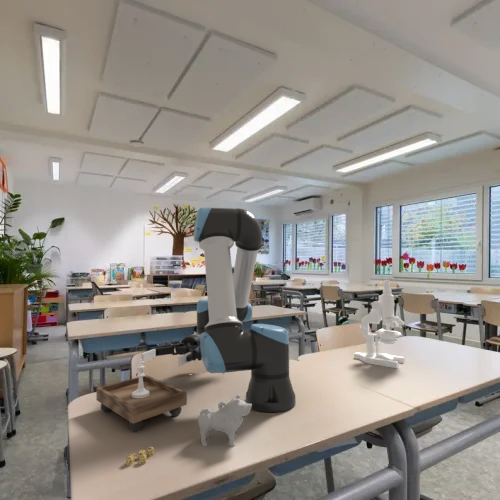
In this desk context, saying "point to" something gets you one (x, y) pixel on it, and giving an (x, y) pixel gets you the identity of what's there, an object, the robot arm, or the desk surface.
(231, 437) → the white dog statue
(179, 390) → the caster cart
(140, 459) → the dice set
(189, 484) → the desk surface
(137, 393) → the chess piece
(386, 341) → the microscope
